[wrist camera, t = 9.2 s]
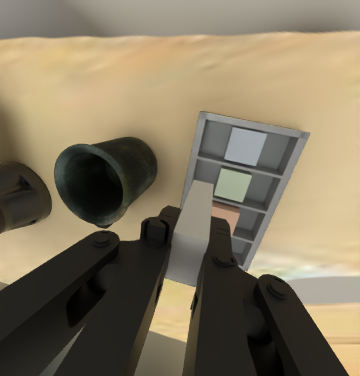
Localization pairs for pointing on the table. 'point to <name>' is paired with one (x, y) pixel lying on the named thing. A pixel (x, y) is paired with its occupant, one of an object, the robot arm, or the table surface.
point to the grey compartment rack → (261, 173)
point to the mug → (104, 178)
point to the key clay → (226, 213)
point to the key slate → (244, 145)
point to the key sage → (232, 183)
